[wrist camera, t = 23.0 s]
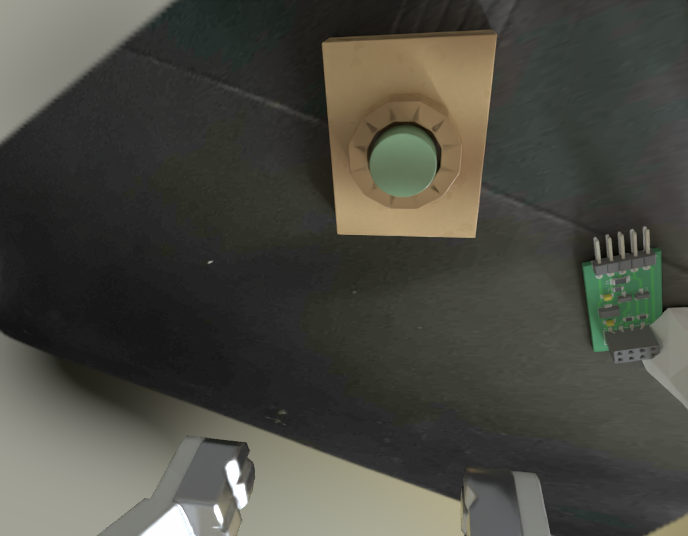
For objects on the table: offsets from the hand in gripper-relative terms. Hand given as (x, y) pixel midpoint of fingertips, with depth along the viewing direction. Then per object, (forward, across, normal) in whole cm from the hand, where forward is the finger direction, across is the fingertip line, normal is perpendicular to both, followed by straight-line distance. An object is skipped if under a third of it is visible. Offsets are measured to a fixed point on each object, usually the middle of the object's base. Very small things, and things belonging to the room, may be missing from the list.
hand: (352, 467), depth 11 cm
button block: (+25, 0, 0) cm, 25 cm away
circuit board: (+25, -16, +12) cm, 33 cm away
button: (+21, 0, 0) cm, 21 cm away
